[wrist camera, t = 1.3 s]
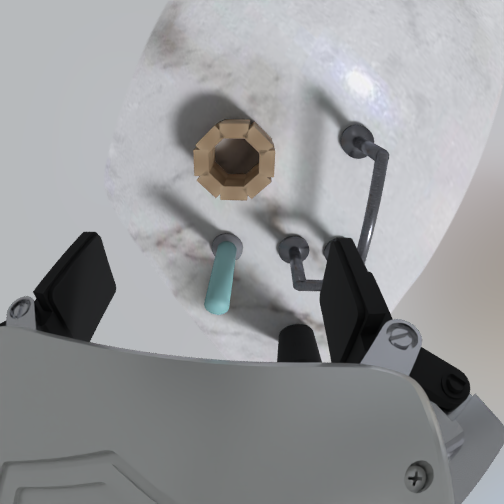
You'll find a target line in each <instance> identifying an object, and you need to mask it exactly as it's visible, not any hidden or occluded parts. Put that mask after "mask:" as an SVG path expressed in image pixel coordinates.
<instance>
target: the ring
mask: <svg viewBox="0 0 504 504" xmlns="http://www.w3.org/2000/svg"><path fill="white" fill-rule="evenodd" d="M223 138H229V139H245V140H246V141H247V142H248V143H250V144H251V145H252V146H253V147H254V148H255V150H256V151H257V152H258V153H259V163H258V164H257V165H256V166H255V167H253V168H252V169H251V170H250V171H249V172H248V173H247V174H228V173H227V172H226V171H225V170H224V169H223V168H222V167H221V166H219V165H218V164H217V163H216V162H215V146H216V145H217V144H218V143H219V142H220V141H221V140H222V139H223ZM195 146H197V147H196V148H195V149H194V150H193V153H194V175H195V176H199V178H198V179H197V181H198V182H199V183H200V184H201V185H202V186H203V187H204V188H206V189H207V190H208V191H209V192H210V193H211V194H212V195H213V196H214V197H215V198H216V197H217V196H219V195H220V200H247V196H249V197H250V198H251V199H252V198H253V197H254V196H256V195H257V194H258V193H259V192H260V191H261V190H262V189H264V188H265V187H266V186H267V185H268V184H270V183H271V182H272V181H271V177H274V164H275V148H274V144H273V143H272V139H271V138H270V137H269V136H268V134H267V133H266V132H265V131H264V130H263V129H262V128H261V127H260V126H259V125H258V124H257V123H256V122H255V121H254V122H253V123H252V124H251V125H250V119H225V120H224V121H222V122H221V121H220V122H219V123H217V124H216V125H215V126H214V127H213V128H212V129H211V130H210V131H209V132H208V133H207V134H206V135H205V136H204V137H203V138H202V139H201V140H200V141H199V142H198V143H197V144H196V145H195Z"/></svg>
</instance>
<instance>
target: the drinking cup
mask: <svg viewBox="0 0 504 504" xmlns="http://www.w3.org/2000/svg"><path fill="white" fill-rule="evenodd" d="M277 362H287V363H320V362H321V363H322V361H321V357H320V354H319V350H318V347H317V343H316V340H315V336H314V333H313V330H312V329H311V328H310V327H308V326H306V325H299V324H298V325H291V326H288V327H286V328H285V329H283V330H282V331H281V333H280V335H279V344H278V358H277Z"/></svg>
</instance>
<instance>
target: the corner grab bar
mask: <svg viewBox="0 0 504 504" xmlns="http://www.w3.org/2000/svg"><path fill="white" fill-rule="evenodd" d="M341 145H342V148H343V150H344V151H345V153H346V154H348V155H349V156H350V157H353V158H356V159H360V158H364V157H366V156H369V157H370V158H372V159H373V160H374V161H375V163H374V169H373V175H372V181H371V187H370V192H369V197H368V202H367V207H366V212H365V217H364V221H363V226H362V230H361V235H360V239H359V243H358V247H357V250H358V252H359V254H360V256H361V258H362V260H363V262H364V265H365V261H366V258H367V254H368V250H369V247H370V243H371V239H372V235H373V231H374V227H375V223H376V219H377V214H378V210H379V205H380V201H381V196H382V191H383V186H384V181H385V176H386V170H387V164H388V160H389V153H388V152H387V151H386V150H385V149H383V148H381V147H380V146H378V145H376V144H374V138H373V135H372V133H371V132H370V131H369V130H368V129H367V128H365V127H363V126H361V125H352V126H350V127H348V128H347V129H346V130H345V131H344V132H343V134H342V137H341ZM335 240H336V239H334V240H332V241H335ZM332 241H331V242H332ZM331 242H329V243H328V244H327V246H326V248H325V252H324V254H325V257H326V260H327V259H328V254H329V249H330V244H331ZM308 254H309V246H308V243H307V242H306V241H305V240H304V239H303V238H301V237H298V236H291V237H288V238H286V239H284V240H283V241H282V242H281V244H280V245H279V255H280V257H281V259H282V260H283V261H285V262H287V263H290V266H291V273H292V280H293V287H294V289H296V290H298V291H321V288H322V283H323V280H306V278H305V273H304V268H303V264H302V261H303V260H305V259H306V257H307V256H308Z"/></svg>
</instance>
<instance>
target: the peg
mask: <svg viewBox="0 0 504 504" xmlns="http://www.w3.org/2000/svg"><path fill="white" fill-rule="evenodd" d="M242 250H243V245H242V242H241V241H240V239H239V238H238V237H236V236H235V235H232V234H221V235H219V236H218V237H216V238H215V240H214V241H213V245H212V252H213V254H214V256H215V261H214V265H213V269H212V273H211V277H210V281H209V286H208V290H207V294H206V299H205V303H204V306H205V308H206V310H207V311H209V312H210V313H212V314H217V315H220V314H224V313H226V312H227V311H228V309H229V304H230V296H231V288H232V281H233V273H234V266H235V260H237V259H238V258H239V257H240V256H241V254H242Z"/></svg>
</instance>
